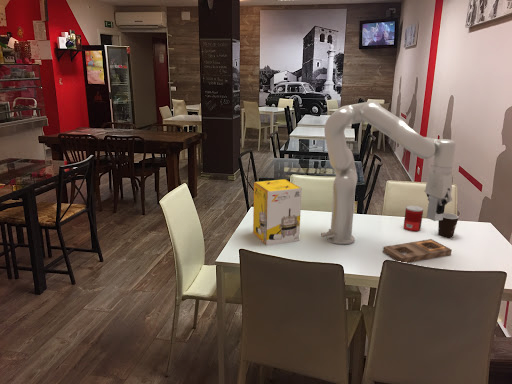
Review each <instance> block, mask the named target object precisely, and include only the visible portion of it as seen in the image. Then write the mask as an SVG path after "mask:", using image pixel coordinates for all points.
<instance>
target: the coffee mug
mask: <svg viewBox="0 0 512 384" xmlns="http://www.w3.org/2000/svg"><path fill="white" fill-rule="evenodd" d="M458 221H459V216H458V215H457V214H455V213H451V212H444V215H443V220H439V221H437V222H438V225H437V226H438V228H437V230H438V231H437V233H438V236H439V237H441V238H445V239H452V238H453V237H454V234H455V231H456V228H457V224H458Z"/></svg>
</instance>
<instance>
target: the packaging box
mask: <svg viewBox="0 0 512 384" xmlns="http://www.w3.org/2000/svg"><path fill="white" fill-rule="evenodd" d="M302 189H303V188H301V187H300V186H299V185H296V184H295V183H293V182H291V181H289V180H288V179H286V178H284V179H274V180H263V181H261V180H260V181H254V182H253V214H252V215H253V221H252V223H253V226H252V230H253V231H252V232H253V234H254V235H255V236H257V238H258V239H259V240H261V241H262V242H263V244H265V246H274V245H279V244H285V243H286V244H287V243H292V242H298V241H300V233H301V232H300V231H301V230H300V229H301V228H300V227H301V214H302V213H301V210H302V209H301V208H302V191H303V190H302Z"/></svg>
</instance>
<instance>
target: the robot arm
mask: <svg viewBox="0 0 512 384" xmlns="http://www.w3.org/2000/svg"><path fill="white" fill-rule="evenodd" d="M361 123H367V124H369V125H370V126H372V127H373V128H375V129H376V130H378V131H379V132H381V133H382V134H384V135H385V136H387V137H389V138H390V139H391V140H392V141H393V142H395V143H397V144H399V145H400V146H401V147H402V148H404V150H406V151H409V152H410V153H411V154H413V155H414V156H416V157H418V158H420V159H422V160H428V159H431V158H432V157H433V158H432V164H431V170H430V171H429V173H428V176H427V179H426V183H425V189H424V192H425V194H426V197H427V201H428V202H429V197H430V195H431V196H434V197H436V198H439V205H438V209H437V214H443V213H445V208H446V205H447V204H448V203H451V202H452V201H453V198H452V188H453V174H452V171H453V170H452V169H453V163H454V157H455V151H456V141H455V140H453V139H447V138H439V139H438V138H433V137H427V136H422V135H421V134H419V133H418V132H416V131H415V130H414V129H412V127H410V126H409V125H408V123H406V122H405V121H404V120H403V119H402V118H401V117H399V116H397V115H395V114H393V113H392V112H391V111H389V110H387V109H386V108H384V107H383V106H381V104H380V103H379V102H377V101H374V100H370V101H369V100H368V101H365V102H359V103H355V104H347V105H343V106H341V107H339V108H338V109H336V110H335V111H334V112H332V113H331V115H329V117H328V118H327V119H326V122H325V123H324V133H323V134H324V138H325V139H324V140H325V142H326V143H325V144H326V149H327V153H328V159H329V164H330V166H331V168H332V169H334V172H335V177H334V180H333V183H332V184H333V185H332V204H331V205H332V207H331V219H330V220H331V221H330V223H331V224H330V228H329V229H328V231H327V232H321V233H320V236H321V238H325V237H326V239H327V241H328V242H331V243H332V244H335V245H336V244H337V245H344V246H345V245H350V244H353V243H354V242H355V236H354V235H353V234H352V233H353V222H354V210H355V209H354V208H355V196H356V188H357V187H356V186H357V184H358V173H357V168H356V163H355V162H356V161H355V158H354V154H353V151H352V150H351V149H350V148H349V147H348V144H347V140H346V135H345V131H346V128H348V127H350V125H355V124H361ZM442 199H443V201H442Z"/></svg>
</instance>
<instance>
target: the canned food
mask: <svg viewBox="0 0 512 384" xmlns="http://www.w3.org/2000/svg"><path fill="white" fill-rule="evenodd" d="M404 211H405V213H404V220H403V221H404V222H403V228H404V229H405V230H406V231H410V232H420V231H421V228H422V223H423V222H422V221H423V213H424V208H423V207H421V206H418V205H407V206H406V207H405V210H404Z"/></svg>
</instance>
